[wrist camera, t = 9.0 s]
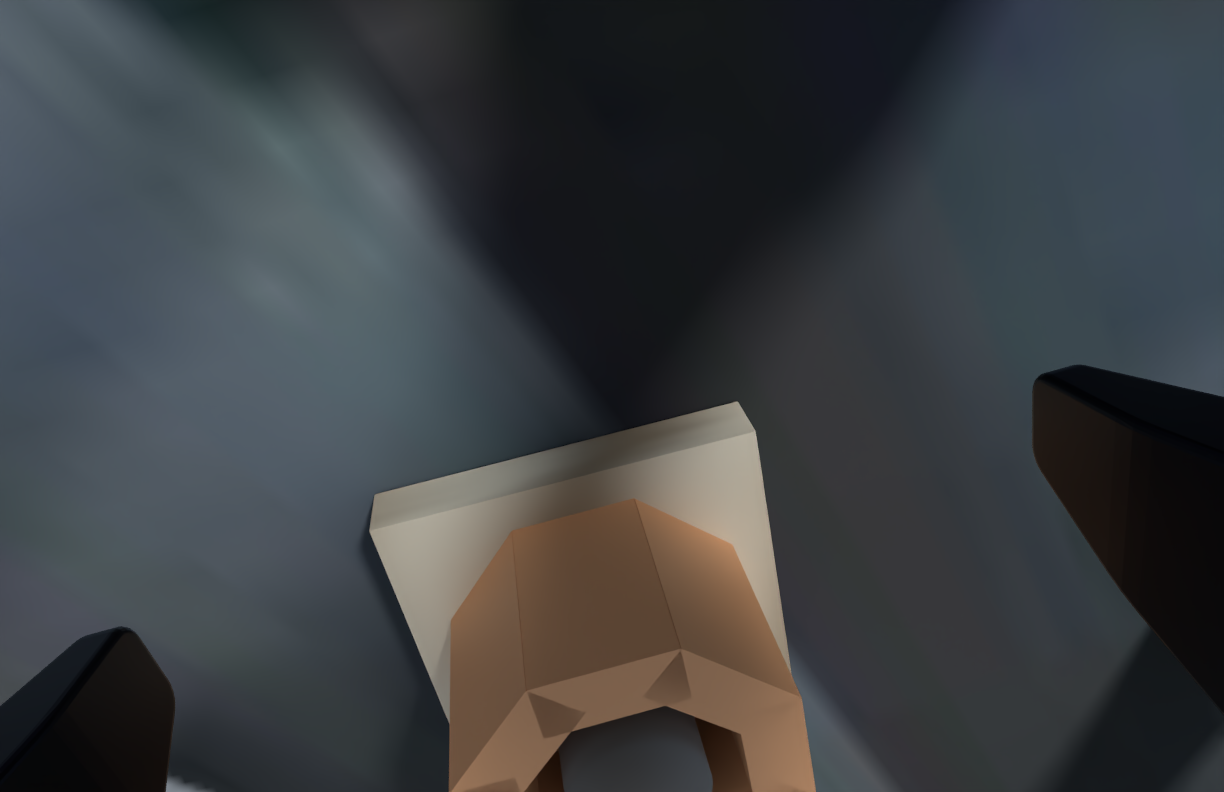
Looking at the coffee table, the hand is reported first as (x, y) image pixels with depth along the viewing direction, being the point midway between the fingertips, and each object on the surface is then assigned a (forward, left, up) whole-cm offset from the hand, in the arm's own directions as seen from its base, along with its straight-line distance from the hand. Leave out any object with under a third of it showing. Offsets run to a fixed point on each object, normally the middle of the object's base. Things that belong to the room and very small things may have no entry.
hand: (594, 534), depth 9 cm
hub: (+1, +10, -10) cm, 14 cm away
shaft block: (+1, +10, -12) cm, 16 cm away
